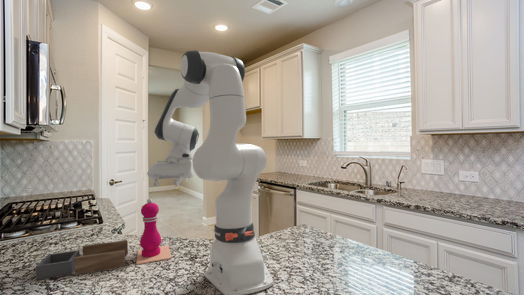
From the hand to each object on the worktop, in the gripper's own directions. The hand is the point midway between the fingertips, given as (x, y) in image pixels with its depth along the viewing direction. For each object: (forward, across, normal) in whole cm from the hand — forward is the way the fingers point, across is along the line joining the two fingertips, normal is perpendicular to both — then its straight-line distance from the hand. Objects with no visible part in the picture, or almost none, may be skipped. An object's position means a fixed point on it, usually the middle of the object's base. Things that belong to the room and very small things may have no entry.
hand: (165, 185), depth 113 cm
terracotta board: (+25, +1, +9) cm, 27 cm away
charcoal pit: (+36, -23, -2) cm, 43 cm away
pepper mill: (+25, 0, +8) cm, 27 cm away
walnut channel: (+31, -12, +2) cm, 34 cm away
